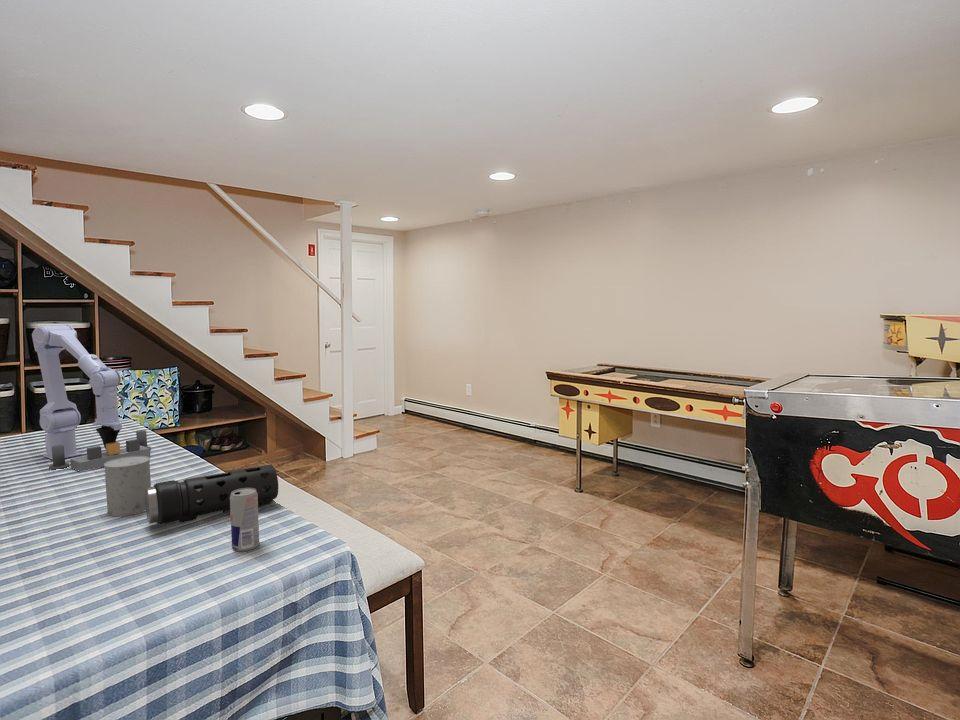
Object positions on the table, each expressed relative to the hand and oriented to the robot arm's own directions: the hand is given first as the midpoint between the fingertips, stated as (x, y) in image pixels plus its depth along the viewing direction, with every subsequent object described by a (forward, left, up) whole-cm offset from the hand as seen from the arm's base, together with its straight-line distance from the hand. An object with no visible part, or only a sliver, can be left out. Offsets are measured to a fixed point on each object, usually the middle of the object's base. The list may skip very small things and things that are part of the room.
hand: (109, 448), depth 171 cm
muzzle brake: (+70, -5, -5) cm, 70 cm away
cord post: (-5, +12, -4) cm, 14 cm away
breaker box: (+1, 0, -4) cm, 5 cm away
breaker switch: (+2, 0, -1) cm, 3 cm away
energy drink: (+92, -11, -5) cm, 92 cm away
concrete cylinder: (+49, -15, -5) cm, 51 cm away
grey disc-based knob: (-5, -12, -4) cm, 14 cm away
